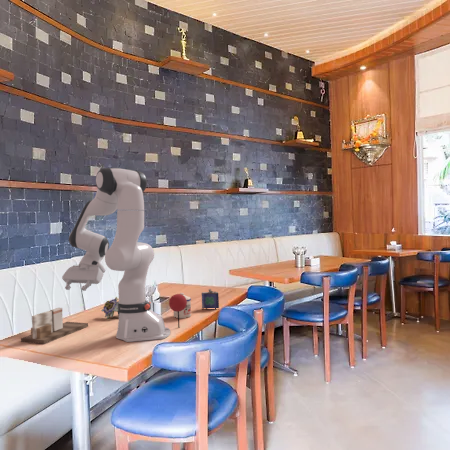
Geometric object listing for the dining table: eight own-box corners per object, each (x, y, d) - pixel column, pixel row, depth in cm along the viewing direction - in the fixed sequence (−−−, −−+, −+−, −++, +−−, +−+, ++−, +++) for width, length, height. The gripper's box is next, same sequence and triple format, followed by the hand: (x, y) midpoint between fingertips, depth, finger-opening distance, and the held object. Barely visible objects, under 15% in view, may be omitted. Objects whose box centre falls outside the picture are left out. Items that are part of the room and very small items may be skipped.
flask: (201, 309, 214) (200, 289, 214) (202, 308, 217) (202, 288, 217) (218, 309, 212) (217, 289, 212) (219, 308, 215) (219, 288, 215)
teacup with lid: (186, 319, 194) (185, 295, 194) (169, 318, 198) (169, 294, 197) (197, 313, 205) (196, 290, 205) (181, 312, 209) (180, 290, 209)
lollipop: (190, 326, 180) (189, 293, 180) (179, 330, 174) (178, 296, 174) (177, 324, 185) (176, 292, 185) (166, 328, 178) (165, 295, 178)
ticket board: (67, 324, 191) (66, 302, 190) (88, 326, 186) (87, 303, 186) (20, 341, 165) (19, 315, 165) (43, 344, 161) (42, 317, 161)
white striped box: (59, 327, 179) (58, 307, 179) (63, 328, 178) (62, 307, 178) (50, 330, 174) (49, 310, 174) (54, 331, 173) (53, 310, 173)
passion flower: (109, 329, 201) (95, 309, 202) (123, 320, 210) (110, 301, 211) (121, 318, 195) (107, 298, 197) (135, 310, 205) (121, 291, 206)
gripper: (67, 261, 198) (53, 284, 189) (102, 262, 191) (89, 286, 182) (74, 269, 202) (60, 292, 193) (108, 270, 195) (96, 294, 186)
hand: (75, 289), depth 188 cm, fingers open, 8 cm apart
